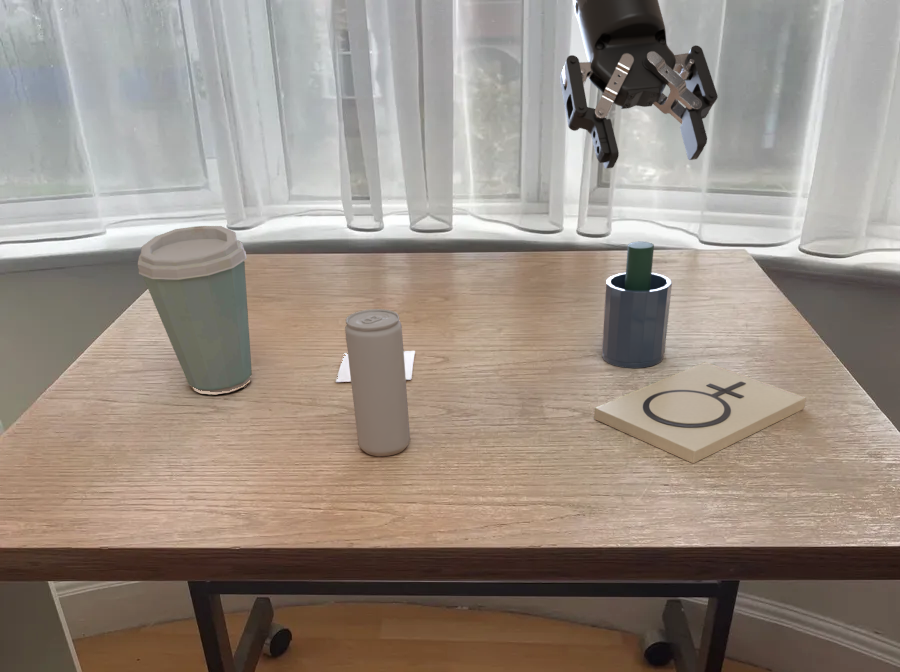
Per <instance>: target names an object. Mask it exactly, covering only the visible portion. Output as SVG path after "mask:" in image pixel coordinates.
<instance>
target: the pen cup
mask: <svg viewBox="0 0 900 672" xmlns="http://www.w3.org/2000/svg"><path fill="white" fill-rule="evenodd" d="M625 277H626V272H619V273H617V274H613V275H611V276H609V277H608V278H607V279H606V280H605V294H604V309H603V310H604V311H603V324H602V325H603V327H602V342H601V359H602V360H603V361H604V362H606V363H607V364H610V365H612V366H615V367H619V368H624V369H625V368H626V369H643V368H650V367H653V366H656V365H658V364H660V363H661V362H663V360H664V358H665V353H666V352H665V351H666V344H667V343H666V342H667V335H668V324H669V314H670V306H671V298H672V297H671V294H672V286H673V283H672V279H671V278H670V277H667V276H666V275H663V274H660V273H656V272H652V274H651V285H650V290H647V291H632V290H625Z"/></svg>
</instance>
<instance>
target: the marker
mask: <svg viewBox="0 0 900 672" xmlns="http://www.w3.org/2000/svg"><path fill="white" fill-rule="evenodd" d="M626 250H627V251H626V262H625V263H626V265H625V273H626V277H625V290H632V291H647V290H650V285H651V274H652V273H653V261H654V252H655V251H654V250H655V244H654V243H652V242H651V241H650V242H649V241H639V240H638V241H632V242H630V243H628V244H627V249H626Z"/></svg>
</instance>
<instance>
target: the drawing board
mask: <svg viewBox="0 0 900 672" xmlns="http://www.w3.org/2000/svg"><path fill="white" fill-rule="evenodd" d="M806 400H807V397H806V396H803V395H800V394H797V393H795V392H792V391H789V390H786V389H783V388H780V387H778V386H775V385H772V384H769V383H767V382H763V381H761V380H758V379H756V378H752V377H749V376H747V375H743V374H741V373H738V372H736V371H732V370H730V369H727V368H724V367H721V366H718V365H715V364H712V363H709V362H707V361H704V362H700V363H698V364H696V365H693V366H692V367H691V366H690V367H689V368H687V369H684V370H681V371H680V372H676V373H675V374H672V375H670V376H667V377H665V378H663V379H660V380H658V381H655V382H653V383H650V384H648V385H646V386H644V387H640V388H638V389H636V390H634V391H631V392H628V393H627V394H625V395H622V396H619V397H617V398H614V399H611V400H609V401H608V402H605V403H602V404H600V405H597V406H595V407H594V410H593V411H594V414H593V420H596V421H598V422H600V423H602V424H605V425H606V426H609V427H611V428H613V429H615V430H618V431H620V432H622V433H624V434H627V435H629V436H631V437H634V438H636V439H638V440H639V441H643V442H644V443H646V444H649V445H651V446H653V447H656V448H657V449H660V450H662V451H664V452H667V453H669V454H671V455H674V456H676V457H678V458H680V459H682V460H684V461H687V462H688V463H691V464H696V463H697V462H699V461H702V460H703V459H705V458H707V457H709V456H712V455H714V454H715V453H717V452H719V451H722V450H723V449H726V448H728V447H730V446H731V445H733V444H736V443H737V442H740V441H742V440H744V439H746V438H748V437H750V436H752V435H754V434H756V433H758V432H761V431H762V430H764V429H766V428H768V427H770V426H772V425H774V424H776V423H778V422H781V421H782V420H784V419H786V418H788V417H790V416H792V415H795V414H797V413H799V412H800V411H803V410H804V409H805V405H806Z"/></svg>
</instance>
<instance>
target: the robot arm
mask: <svg viewBox="0 0 900 672" xmlns="http://www.w3.org/2000/svg"><path fill="white" fill-rule="evenodd" d="M572 1H573V6H574V15H575V17H576V19H577V22H578V26H579V30H580V31H579V32H580V35H581V39H582V43H583V48H584V50H585V51H584V52H585V55H586V59H587V61H584V62H582V61H581V62H580V59H579V57H577V56H576V55H573V54H572V55H569V56H567V57H566V60H565V62H564V66H563V69H562V71H561V74H560V77H559V83H560V87H561V94H562V99H563V105H564V111H565V117H566V122H567V126H568V129H569V130H571V131H574V132H576V131H578V130H580V129H582V130H586V131H587V132H588V133H589V134H590V136H591V140H592V144H593V148H594V152H595V156H596V159H597V161H598V162H599V164H603V168H604V169H613V168H615V165H616V163H617V161H618V159H619V156H620V154H619V153H620V152H619V148H618V143H617V139H616V136H615V132H614V127H613V123H612V119H611V118H608V117H609V114H610V112H611V110H612V108H613V106H614V105H616V106H618V107H620V109H621V110H625V109H626V110H627V109H631V108H633V107H642V108H647V107H652V106H655V107H656V108H657V109H658V110H659V111H660V112H661V113H663V114H664V115H667V114H670V115H671V116H672V117H673V118H674V119H675V120H676V121H677V122H679V124H681V125H680V126H679V130H680V133H681V138H682V141H683V146H684V149H685V153H686V157H687V159H688V160H689V161H693V160H698V158H699V157H700V156H701V154H702V152H703V150H704V148H705V146H706V145H707V144H708V143H707V142H708V135H707V132H706V129H705V124H704V119H705V118H707V116H708V115H709V112H710V110H711V109H712V107H713V105H714V104H715V103H716V101H717V100H718V98H719V97H718V93H717V89H716V87H715V86H716V85H715V83H714V80H713V77H712V75H711V71H710V69H709V65H708V62H707V59H706V56H705V53H704V50H703V48H702V47H701V46H699V45H692V47H691V48H690V50H689V52H686V53H679V54H674V52H673V51H672V50H671V49H670V47H669V46H668V43H667V32H666V25H665V22H664V18H663V14H662V10H661V7H660V3H659V0H572ZM587 80H589V81H590V82H591V84H592V85H593V86H594V87H595V88H597V89H598V90H599V91H600V92H601V93H602V95H601V97H600V99H599V101H598V103H597V105H596V107H595V108H593V107H589V106H588V103H587V102H588V101H587V96H586V91H585V87H584V86H585V84H586V81H587ZM666 87H668V88H669V93H668V95H665V93H664V91H665V89H666Z"/></svg>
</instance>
